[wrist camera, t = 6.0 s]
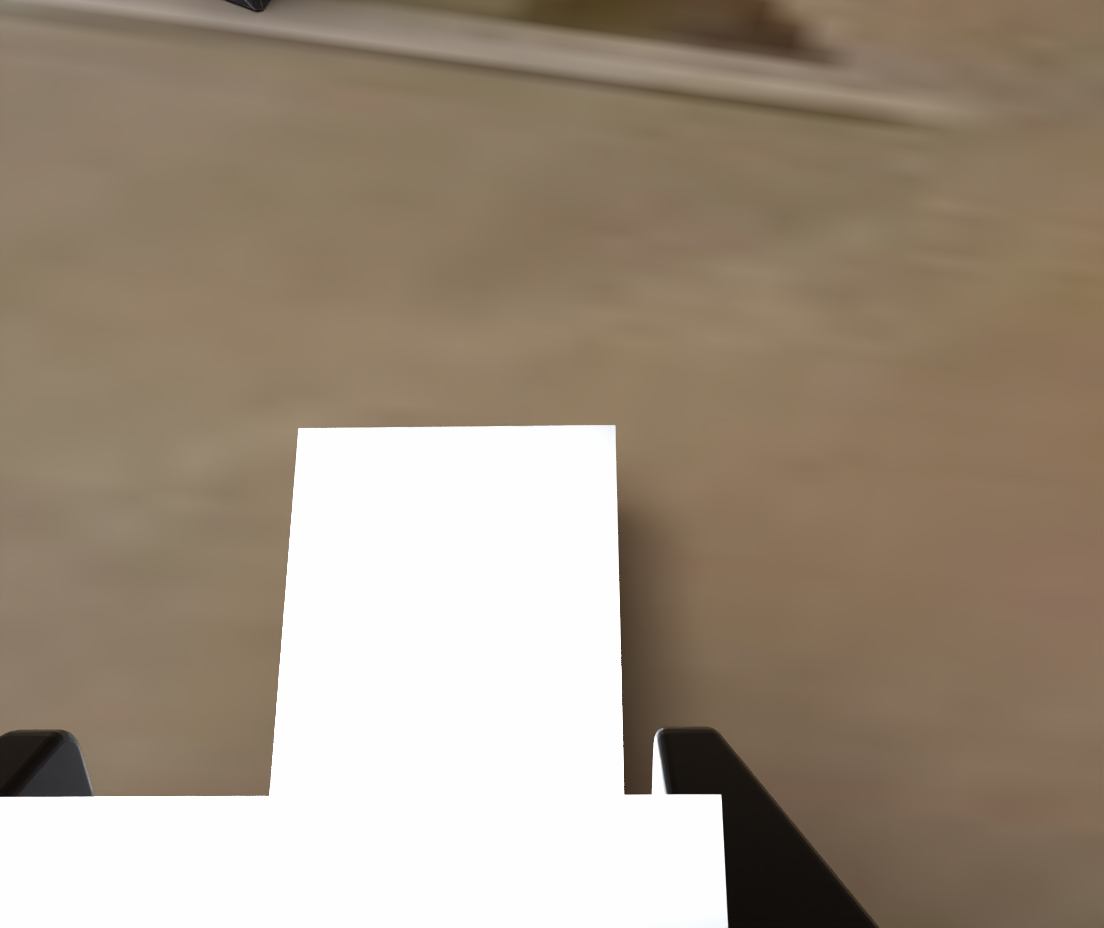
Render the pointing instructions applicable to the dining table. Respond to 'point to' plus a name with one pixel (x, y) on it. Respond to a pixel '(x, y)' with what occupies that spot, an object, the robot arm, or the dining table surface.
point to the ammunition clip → (253, 4)
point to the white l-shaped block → (413, 722)
